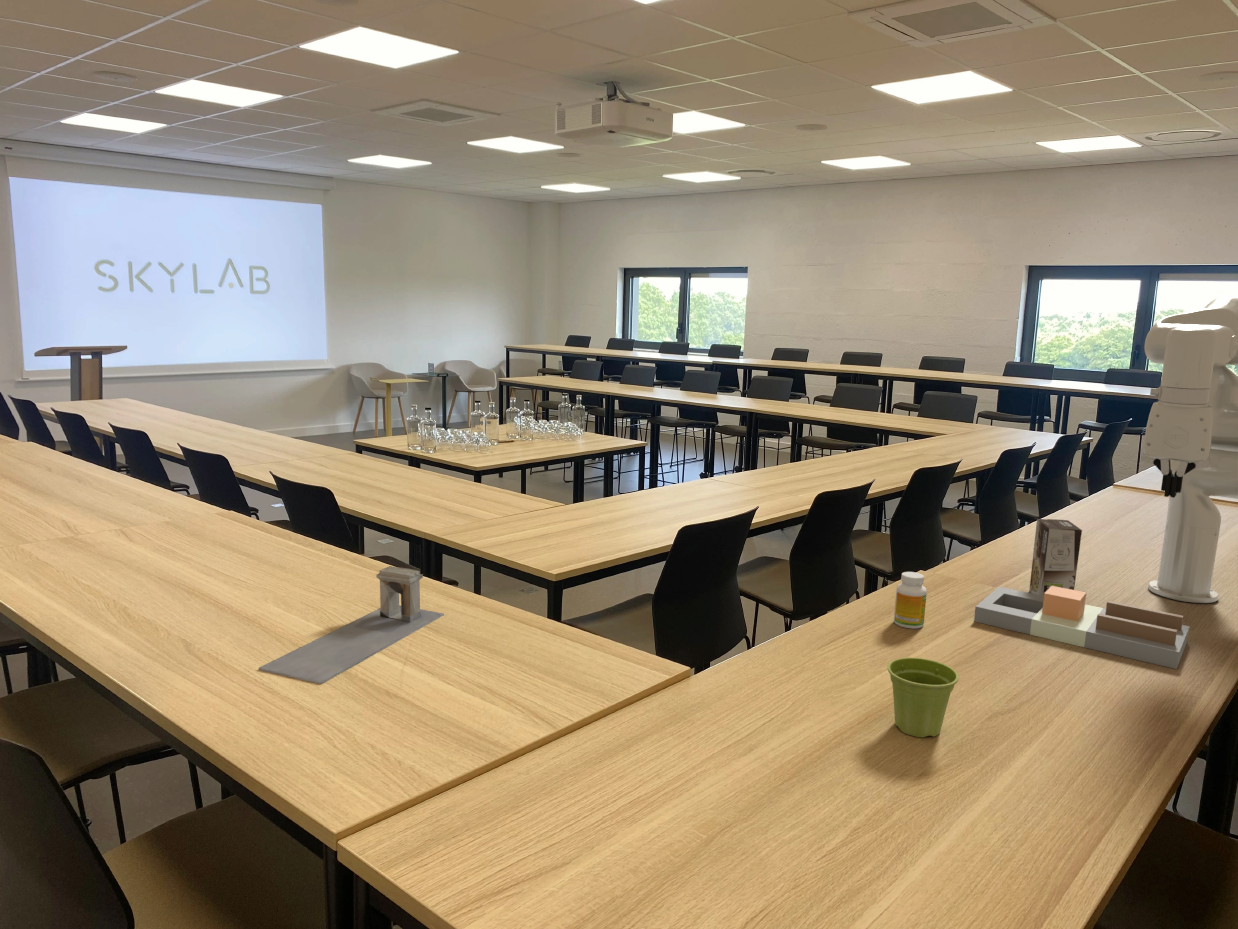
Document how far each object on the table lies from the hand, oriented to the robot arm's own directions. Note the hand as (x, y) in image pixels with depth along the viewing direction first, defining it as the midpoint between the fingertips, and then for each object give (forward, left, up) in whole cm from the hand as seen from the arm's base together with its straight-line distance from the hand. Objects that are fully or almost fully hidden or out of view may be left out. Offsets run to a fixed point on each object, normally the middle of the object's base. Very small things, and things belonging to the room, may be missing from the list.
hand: (1170, 495), depth 159 cm
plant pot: (+70, -20, -26) cm, 77 cm away
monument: (+102, -105, -27) cm, 149 cm away
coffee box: (-5, -19, -26) cm, 33 cm away
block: (+12, -13, -23) cm, 29 cm away
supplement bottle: (+30, -36, -26) cm, 53 cm away
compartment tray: (+12, -10, -26) cm, 30 cm away
